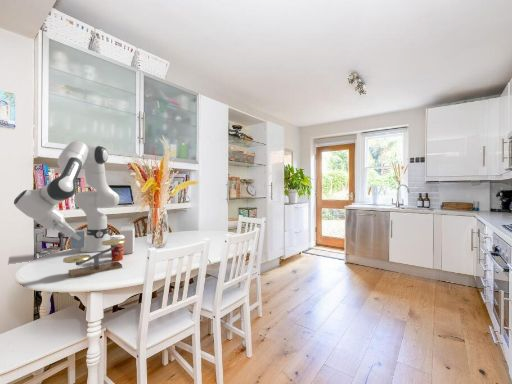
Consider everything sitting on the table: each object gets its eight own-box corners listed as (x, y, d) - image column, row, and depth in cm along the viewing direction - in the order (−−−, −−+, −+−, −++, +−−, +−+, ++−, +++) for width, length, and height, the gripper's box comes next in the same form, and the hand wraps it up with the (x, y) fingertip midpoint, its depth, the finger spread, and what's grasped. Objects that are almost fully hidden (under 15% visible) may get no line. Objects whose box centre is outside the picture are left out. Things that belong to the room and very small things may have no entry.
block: (69, 246, 121) (69, 230, 121) (82, 245, 125) (82, 229, 125) (71, 249, 118) (71, 232, 118) (84, 247, 121) (84, 231, 121)
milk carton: (132, 253, 158) (132, 224, 158) (120, 254, 156) (120, 224, 156) (134, 250, 165) (134, 222, 164) (122, 251, 163) (123, 222, 162)
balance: (61, 273, 122) (61, 245, 122) (122, 262, 141) (122, 238, 140) (64, 280, 114) (64, 250, 114) (128, 267, 133) (128, 241, 132)
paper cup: (118, 262, 141) (118, 237, 141) (106, 261, 143) (106, 236, 142) (127, 258, 149) (127, 234, 148) (116, 257, 150) (116, 234, 150)
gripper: (61, 216, 109) (88, 236, 116) (56, 212, 123) (80, 230, 130) (48, 228, 106) (76, 247, 113) (45, 222, 121) (70, 239, 128)
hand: (78, 238), depth 122 cm, fingers closed on block, 5 cm apart
